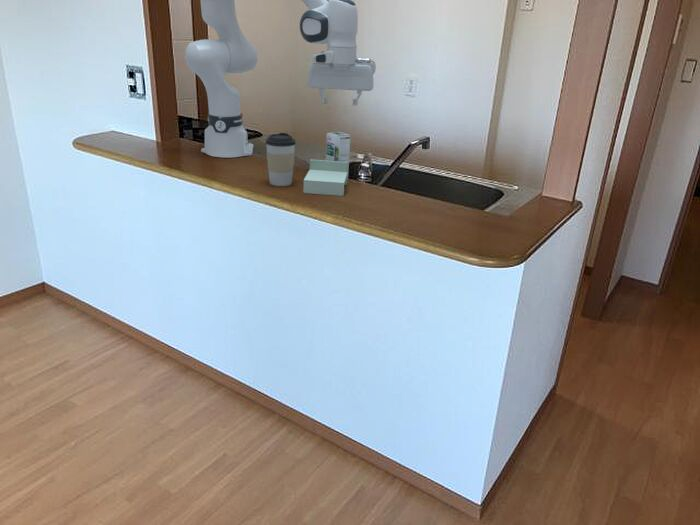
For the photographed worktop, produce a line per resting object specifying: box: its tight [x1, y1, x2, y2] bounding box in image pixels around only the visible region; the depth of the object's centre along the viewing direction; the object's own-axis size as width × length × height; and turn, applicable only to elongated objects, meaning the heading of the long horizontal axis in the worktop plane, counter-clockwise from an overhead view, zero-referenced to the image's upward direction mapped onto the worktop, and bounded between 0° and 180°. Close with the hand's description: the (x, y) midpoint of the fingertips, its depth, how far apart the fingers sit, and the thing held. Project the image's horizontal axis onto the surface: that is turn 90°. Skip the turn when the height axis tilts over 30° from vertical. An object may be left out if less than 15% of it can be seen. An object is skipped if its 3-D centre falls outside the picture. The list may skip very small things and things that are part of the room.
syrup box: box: [325, 131, 351, 179], centre depth 179 cm, size 6×6×14 cm
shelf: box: [302, 159, 349, 197], centre depth 169 cm, size 13×12×7 cm
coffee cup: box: [265, 132, 296, 187], centre depth 170 cm, size 9×9×15 cm
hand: (339, 104), depth 172 cm, fingers open, 8 cm apart
